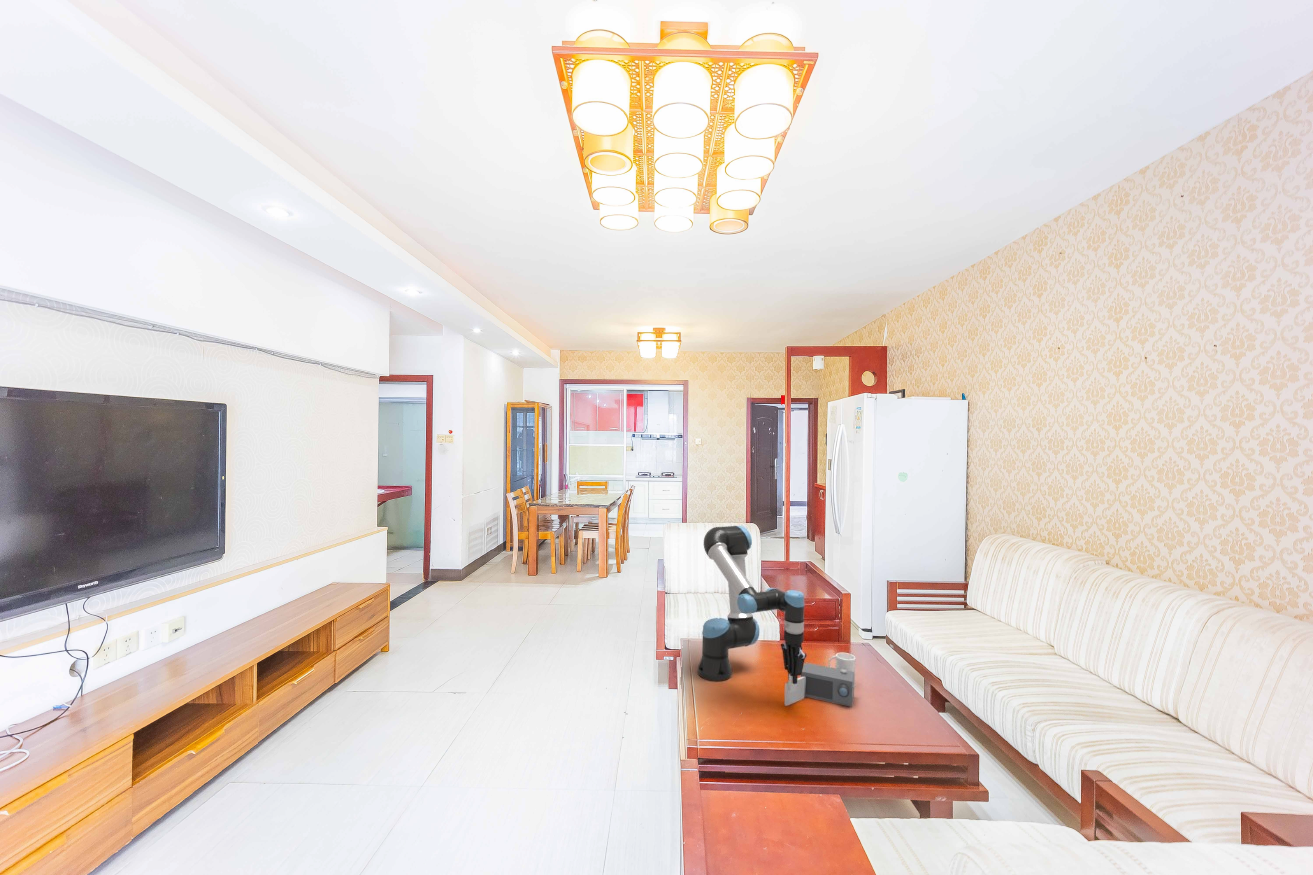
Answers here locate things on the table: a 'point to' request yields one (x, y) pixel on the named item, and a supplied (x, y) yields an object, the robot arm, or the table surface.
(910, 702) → the table surface
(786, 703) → the door
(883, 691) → the table surface
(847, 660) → the mug
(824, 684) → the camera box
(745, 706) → the table surface
